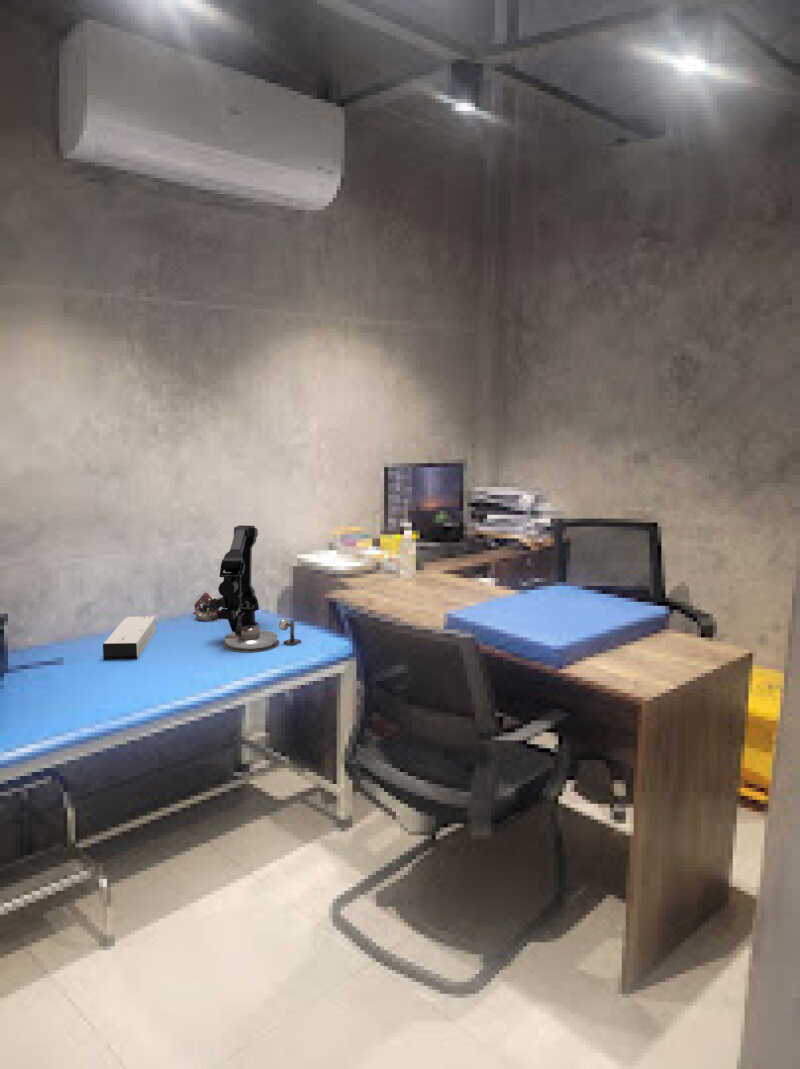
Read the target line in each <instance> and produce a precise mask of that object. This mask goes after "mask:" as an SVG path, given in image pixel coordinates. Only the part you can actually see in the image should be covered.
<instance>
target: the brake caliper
mask: <svg viewBox="0 0 800 1069" xmlns="http://www.w3.org/2000/svg"><path fill="white" fill-rule="evenodd" d="M212 599H213V597H212V596H211V595H210V593H208V592H204V593H203V594H202V595H201V596H200V597H199V598H198V600H197V601H196V602H195V603H194V610H195V611H194V612H192V614H193V615H195V618H196V620H197V621H198V620H200V621H199V622H205V621H209V622H211V621H215V622H216V620H217V621H220V620H219V619H217V612H218V611H220V610H221V609H222V608H221V609H220V608H217V609H215V610H212V608H211V607H209V605H210V604H209V603H210V600H212ZM213 619H214V620H213ZM210 620H211V621H210Z"/></svg>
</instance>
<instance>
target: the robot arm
mask: <svg viewBox="0 0 800 1069" xmlns="http://www.w3.org/2000/svg"><path fill="white" fill-rule="evenodd" d="M258 534H259V531H258V528H257V527H256V526H255V525H244V524H243V525H240V524H239V525H236V526H234V527H233V538H232V541H231V546H230V549H229V551H228V552H226V553H225V555H224V556H223V559H222V560H221V563H220V571H219V578H223V581H222V582H221V583H220V584H219V585H218V588H217V589H218V593H219V595H220V596H222V597H218V598H212V600H210V599H209V600H210V603H209V604H210V605H209V607H211V608H212V610H215V609H217V608H219V610H220V608H221V610H220V611H218V612H217V618H216V619H220V620H227V621H228V624H229V627H230V629H231V633H233V632H236V630H237V627H238V625H239V623H240V622H241V627H243V626H247V625H256V626H257V625H258V624H259V623H258V622H257V621H256V611H259V610H260V606H259V599H258V598H257V596H256V590H255V589H254V586H253V585H252V568H253V566H252V560H253V559H252V556H253V555H252V554H253V547H254V546H255V544H256V542H257V538H258V536H259V535H258Z"/></svg>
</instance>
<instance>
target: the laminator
mask: <svg viewBox="0 0 800 1069" xmlns="http://www.w3.org/2000/svg"><path fill="white" fill-rule="evenodd" d="M155 631H156V632H157V619H156V616H153V615H152V616H147V615H146V616H125V617H124V618H123V619H122V621H121V622H120V624H118V626H117V627H116V628H115V629H114V631H113V632H112V633H111V634H110V635H109V636H108V638H107V639H106V640H105V641H104V642H103V644H102V653H103V656H102V657H103V660H135V659H136V660H137V659H139V658H140V656H141V654H142V652H144V650H145V648H146V647H147V645H148V644H149V643H148V642H150V641H151V640H150V639H153V637H152V636H154V635H155V634H156V632H155ZM154 633H155V634H154Z"/></svg>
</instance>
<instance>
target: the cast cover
mask: <svg viewBox="0 0 800 1069" xmlns="http://www.w3.org/2000/svg"><path fill="white" fill-rule="evenodd" d="M260 630H261V629H260V626H259V625H257V624H256V625H247V626H241V637H242V639H245V640H255V639H258V638H260Z"/></svg>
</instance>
